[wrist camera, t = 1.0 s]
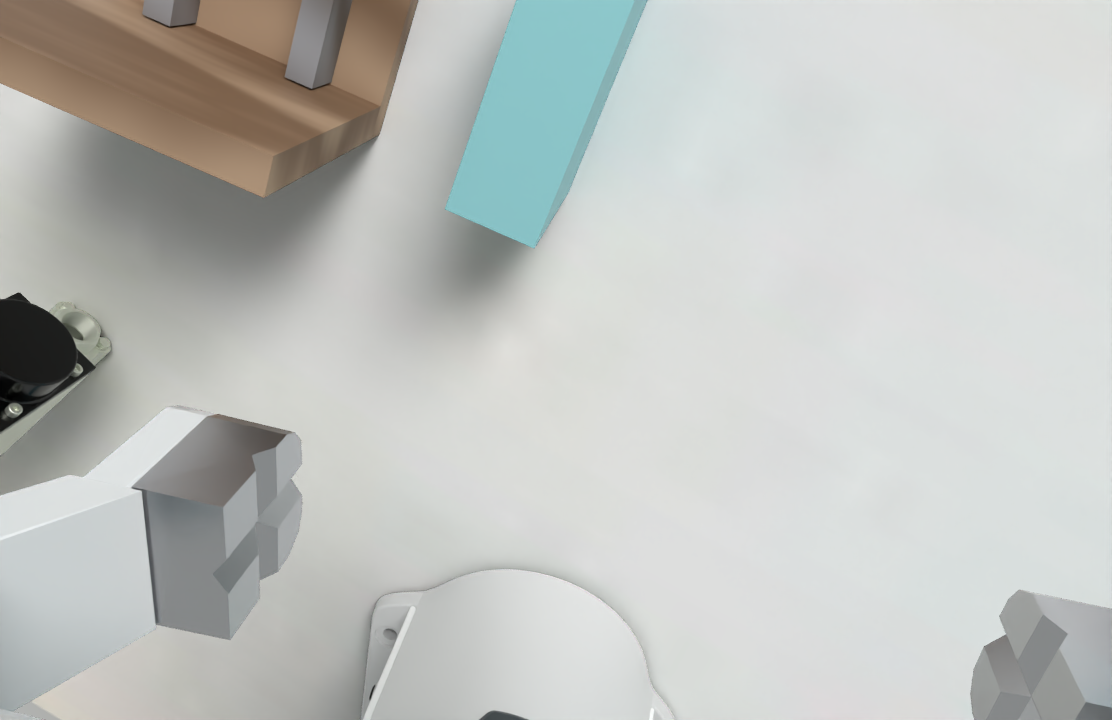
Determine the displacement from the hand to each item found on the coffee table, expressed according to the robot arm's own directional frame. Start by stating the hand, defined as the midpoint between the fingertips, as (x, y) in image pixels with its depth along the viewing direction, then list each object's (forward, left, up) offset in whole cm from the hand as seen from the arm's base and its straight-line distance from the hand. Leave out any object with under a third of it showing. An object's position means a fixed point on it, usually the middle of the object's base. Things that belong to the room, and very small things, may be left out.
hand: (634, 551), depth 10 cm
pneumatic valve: (-23, +25, -29) cm, 45 cm away
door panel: (0, +5, -29) cm, 29 cm away
